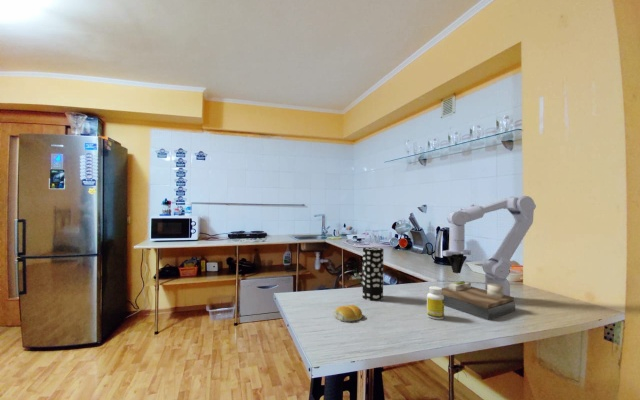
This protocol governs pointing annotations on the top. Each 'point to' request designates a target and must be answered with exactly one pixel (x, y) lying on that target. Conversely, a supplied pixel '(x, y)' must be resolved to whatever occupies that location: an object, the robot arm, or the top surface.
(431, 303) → the supplement bottle
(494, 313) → the base
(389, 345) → the top surface
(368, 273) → the spotted tube
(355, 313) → the bread roll
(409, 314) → the top surface
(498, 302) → the plate
